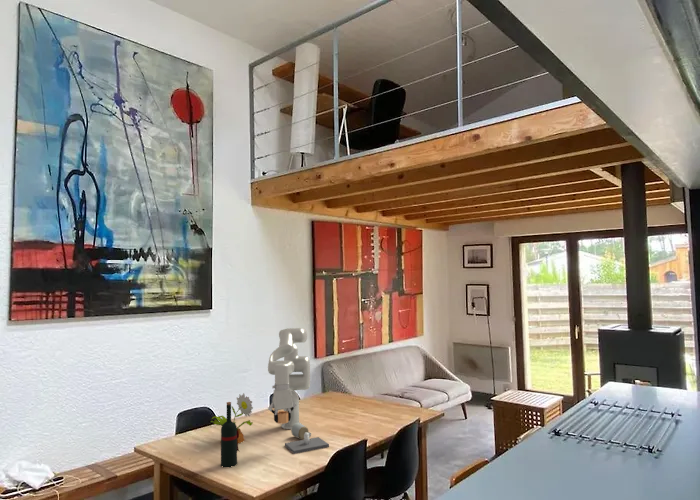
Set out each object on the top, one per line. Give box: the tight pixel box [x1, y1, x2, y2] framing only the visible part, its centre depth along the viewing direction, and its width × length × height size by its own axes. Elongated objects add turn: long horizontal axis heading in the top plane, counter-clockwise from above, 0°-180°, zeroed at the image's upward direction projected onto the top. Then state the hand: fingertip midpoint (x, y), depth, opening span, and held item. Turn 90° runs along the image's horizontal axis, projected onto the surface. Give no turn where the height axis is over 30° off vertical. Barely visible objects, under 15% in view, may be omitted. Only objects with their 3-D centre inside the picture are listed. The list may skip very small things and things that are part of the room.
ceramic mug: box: [290, 422, 312, 440], centre depth 276 cm, size 11×8×8 cm
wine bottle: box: [220, 401, 240, 468], centre depth 238 cm, size 8×10×30 cm
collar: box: [277, 410, 289, 425], centre depth 256 cm, size 6×6×5 cm
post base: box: [284, 432, 330, 455], centre depth 260 cm, size 14×20×7 cm
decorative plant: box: [210, 392, 254, 444], centre depth 272 cm, size 27×24×25 cm
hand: (282, 420), depth 256 cm, fingers closed on collar, 6 cm apart
